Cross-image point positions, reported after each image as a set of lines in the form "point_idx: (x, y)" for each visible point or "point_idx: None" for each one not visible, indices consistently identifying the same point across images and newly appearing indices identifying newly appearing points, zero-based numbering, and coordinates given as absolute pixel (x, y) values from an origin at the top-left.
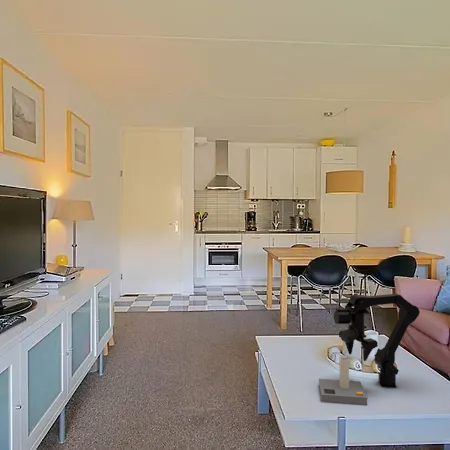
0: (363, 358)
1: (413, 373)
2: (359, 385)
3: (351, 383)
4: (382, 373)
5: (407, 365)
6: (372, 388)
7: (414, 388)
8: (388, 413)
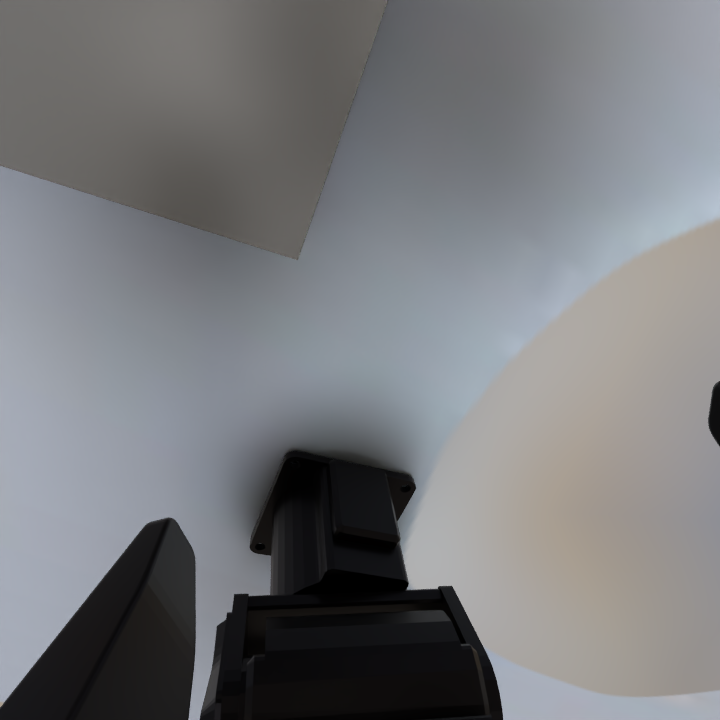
0: (139, 567)
1: None
2: (157, 178)
3: (240, 83)
4: (321, 564)
5: (583, 717)
6: (276, 356)
7: None
8: None
